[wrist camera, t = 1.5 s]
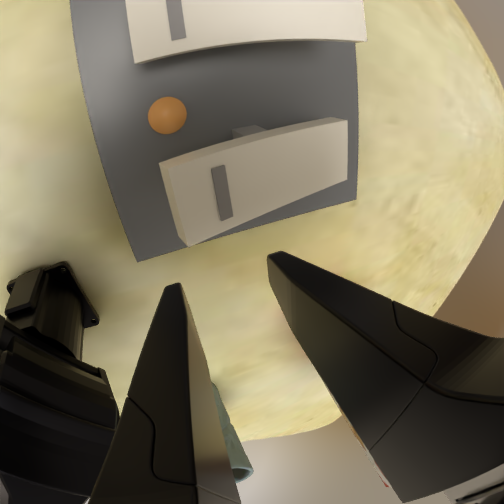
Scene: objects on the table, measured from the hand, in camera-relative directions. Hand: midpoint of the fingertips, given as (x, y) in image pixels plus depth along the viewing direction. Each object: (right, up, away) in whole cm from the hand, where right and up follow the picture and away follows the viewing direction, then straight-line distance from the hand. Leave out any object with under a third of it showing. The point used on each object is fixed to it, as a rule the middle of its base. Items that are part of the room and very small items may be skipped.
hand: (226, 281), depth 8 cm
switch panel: (-2, +14, +6) cm, 16 cm away
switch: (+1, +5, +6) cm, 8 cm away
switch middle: (0, +11, +2) cm, 11 cm away
